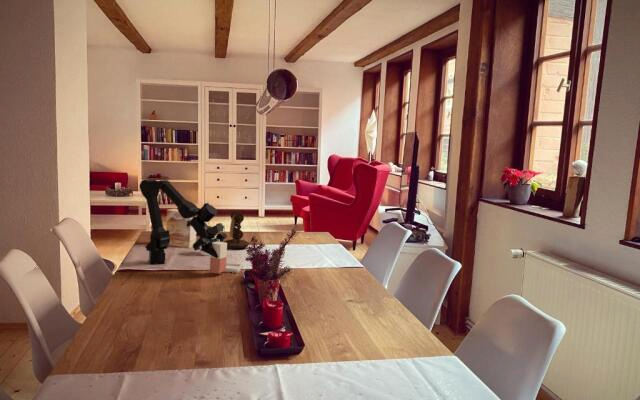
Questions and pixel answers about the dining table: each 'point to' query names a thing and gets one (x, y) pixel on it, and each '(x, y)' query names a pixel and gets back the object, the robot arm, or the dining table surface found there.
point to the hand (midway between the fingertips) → (221, 256)
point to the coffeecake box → (180, 230)
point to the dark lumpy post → (236, 232)
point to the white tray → (233, 267)
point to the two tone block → (219, 257)
